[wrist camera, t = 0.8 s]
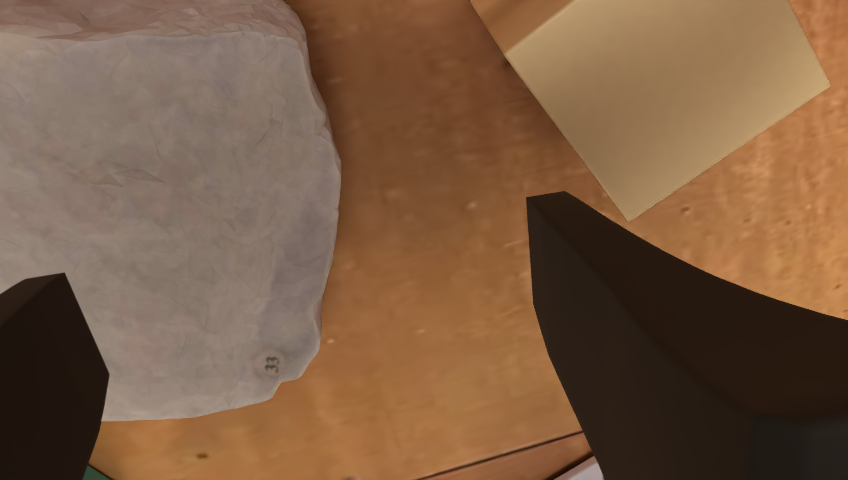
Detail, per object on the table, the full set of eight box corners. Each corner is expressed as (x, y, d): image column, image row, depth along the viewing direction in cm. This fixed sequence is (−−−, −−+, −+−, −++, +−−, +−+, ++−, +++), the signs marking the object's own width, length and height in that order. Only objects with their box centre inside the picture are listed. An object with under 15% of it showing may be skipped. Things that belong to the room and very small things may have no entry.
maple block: (727, 22, 20) (832, 86, 16) (569, 136, 22) (628, 223, 17) (635, -143, 18) (729, -121, 14) (465, -5, 19) (503, 54, 15)
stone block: (302, -61, 20) (-144, -40, 17) (342, -14, 16) (-226, 23, 13) (328, 307, 26) (5, 363, 24) (360, 405, 22) (-21, 485, 20)
